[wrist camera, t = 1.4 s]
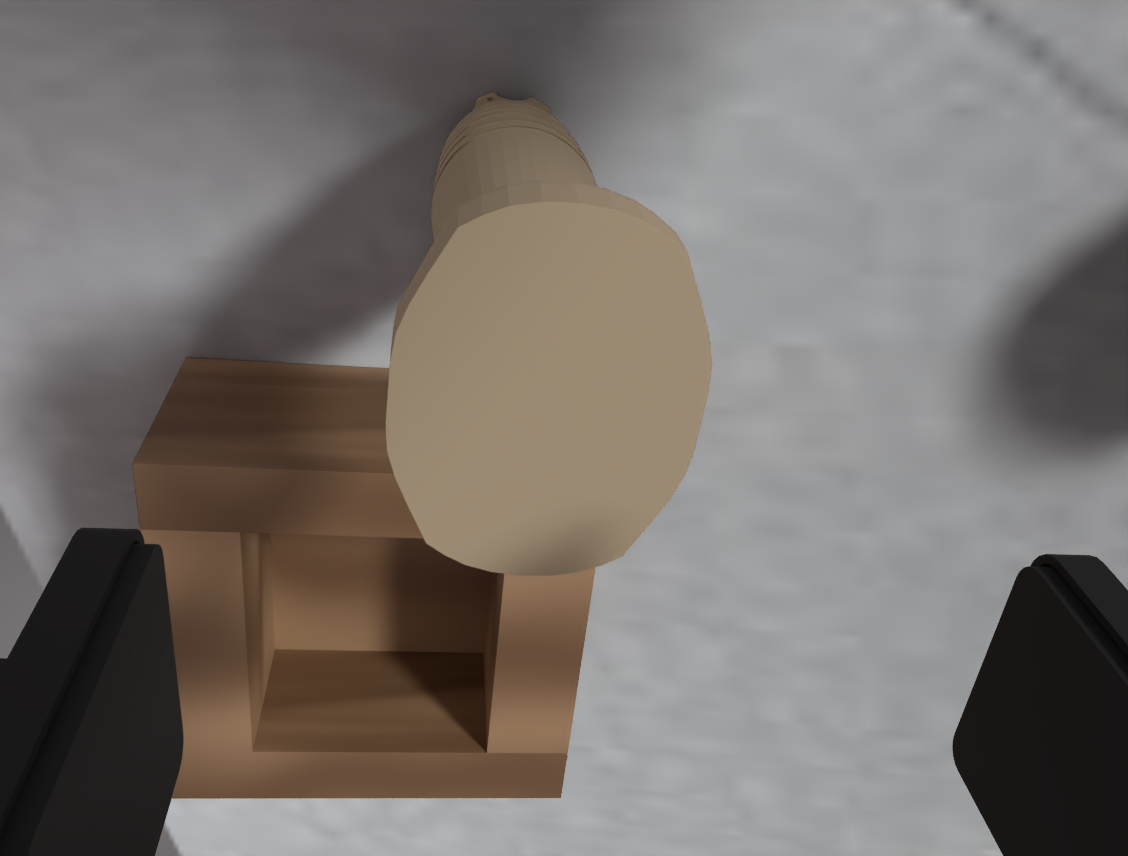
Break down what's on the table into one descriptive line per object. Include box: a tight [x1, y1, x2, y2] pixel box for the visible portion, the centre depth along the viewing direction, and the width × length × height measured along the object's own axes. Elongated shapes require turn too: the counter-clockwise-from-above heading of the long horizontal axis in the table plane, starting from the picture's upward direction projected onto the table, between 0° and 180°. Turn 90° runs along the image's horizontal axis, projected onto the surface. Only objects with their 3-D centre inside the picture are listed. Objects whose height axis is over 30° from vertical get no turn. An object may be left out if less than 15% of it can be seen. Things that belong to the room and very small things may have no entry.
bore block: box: [132, 358, 595, 798], centre depth 32 cm, size 12×12×6 cm
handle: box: [386, 92, 712, 576], centre depth 22 cm, size 5×6×15 cm
